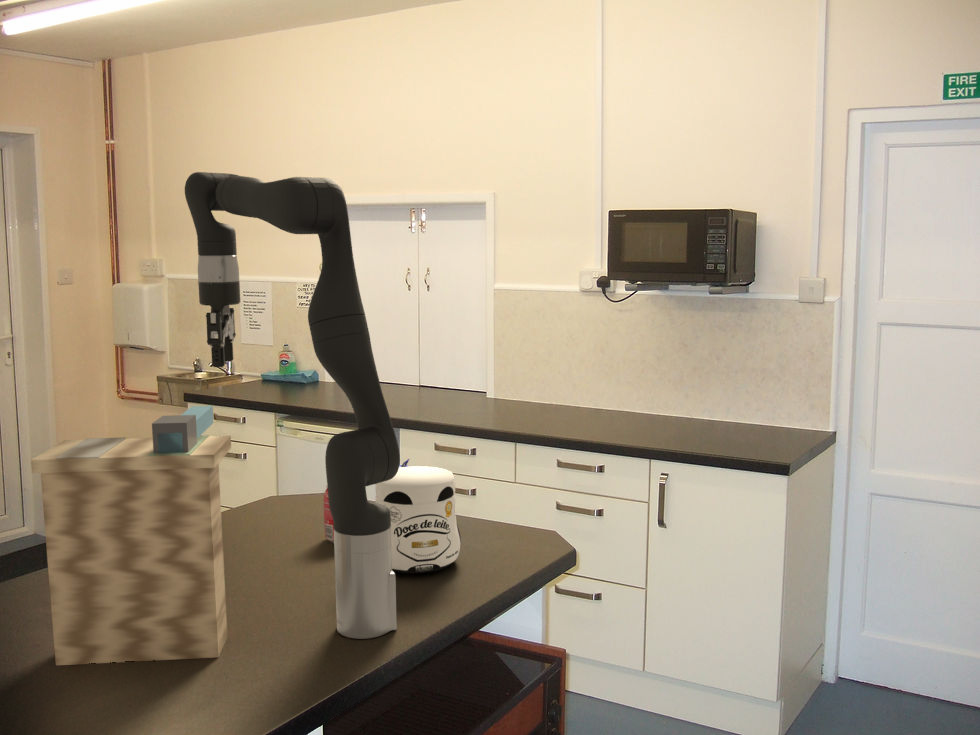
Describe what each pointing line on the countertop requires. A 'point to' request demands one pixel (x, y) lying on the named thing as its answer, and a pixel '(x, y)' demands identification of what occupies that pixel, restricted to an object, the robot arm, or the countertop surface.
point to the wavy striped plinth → (134, 549)
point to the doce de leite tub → (421, 518)
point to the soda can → (328, 519)
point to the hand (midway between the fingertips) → (223, 364)
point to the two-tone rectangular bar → (181, 430)
